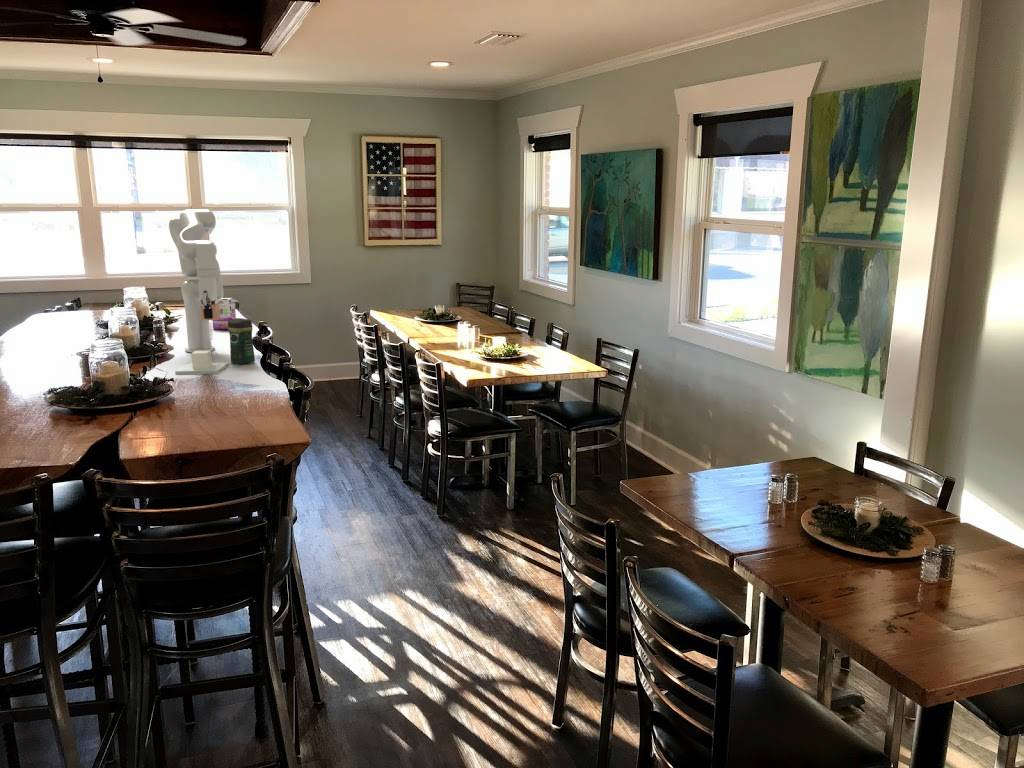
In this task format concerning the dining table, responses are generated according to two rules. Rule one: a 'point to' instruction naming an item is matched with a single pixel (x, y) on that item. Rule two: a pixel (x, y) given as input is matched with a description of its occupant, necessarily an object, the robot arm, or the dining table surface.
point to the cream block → (201, 359)
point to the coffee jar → (241, 341)
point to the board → (202, 369)
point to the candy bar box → (225, 313)
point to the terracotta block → (215, 312)
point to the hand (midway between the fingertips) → (210, 316)
